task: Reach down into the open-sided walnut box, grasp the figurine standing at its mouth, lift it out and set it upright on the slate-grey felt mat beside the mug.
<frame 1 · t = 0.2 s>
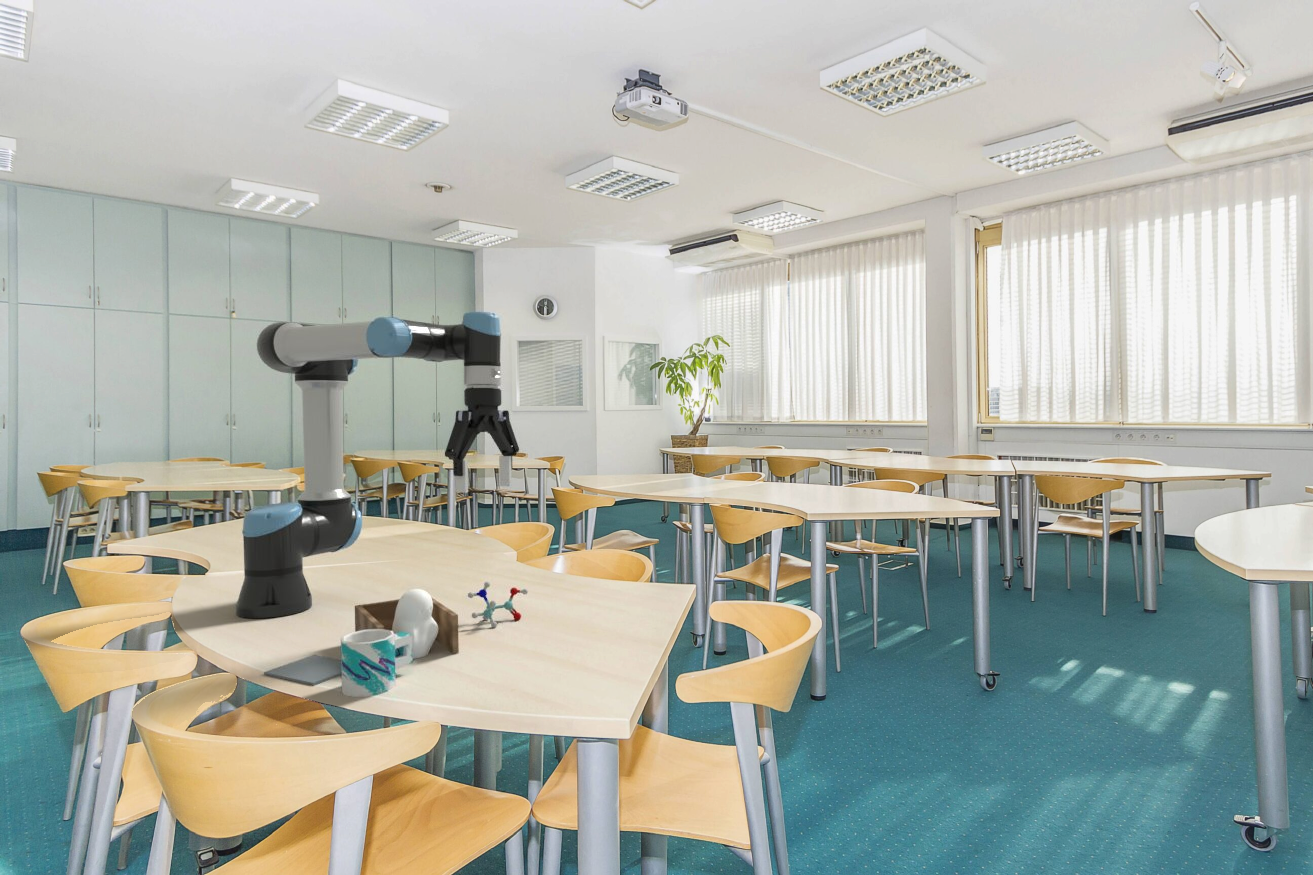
hand: (484, 489, 156), 28 cm above the table, fingers open, 13 cm apart
molecular model: (494, 622, 156), on the table
mug: (379, 684, 121), on the table
felt mat: (314, 670, 127), on the table
figurine: (413, 655, 135), on the table
walnut box: (405, 647, 139), on the table
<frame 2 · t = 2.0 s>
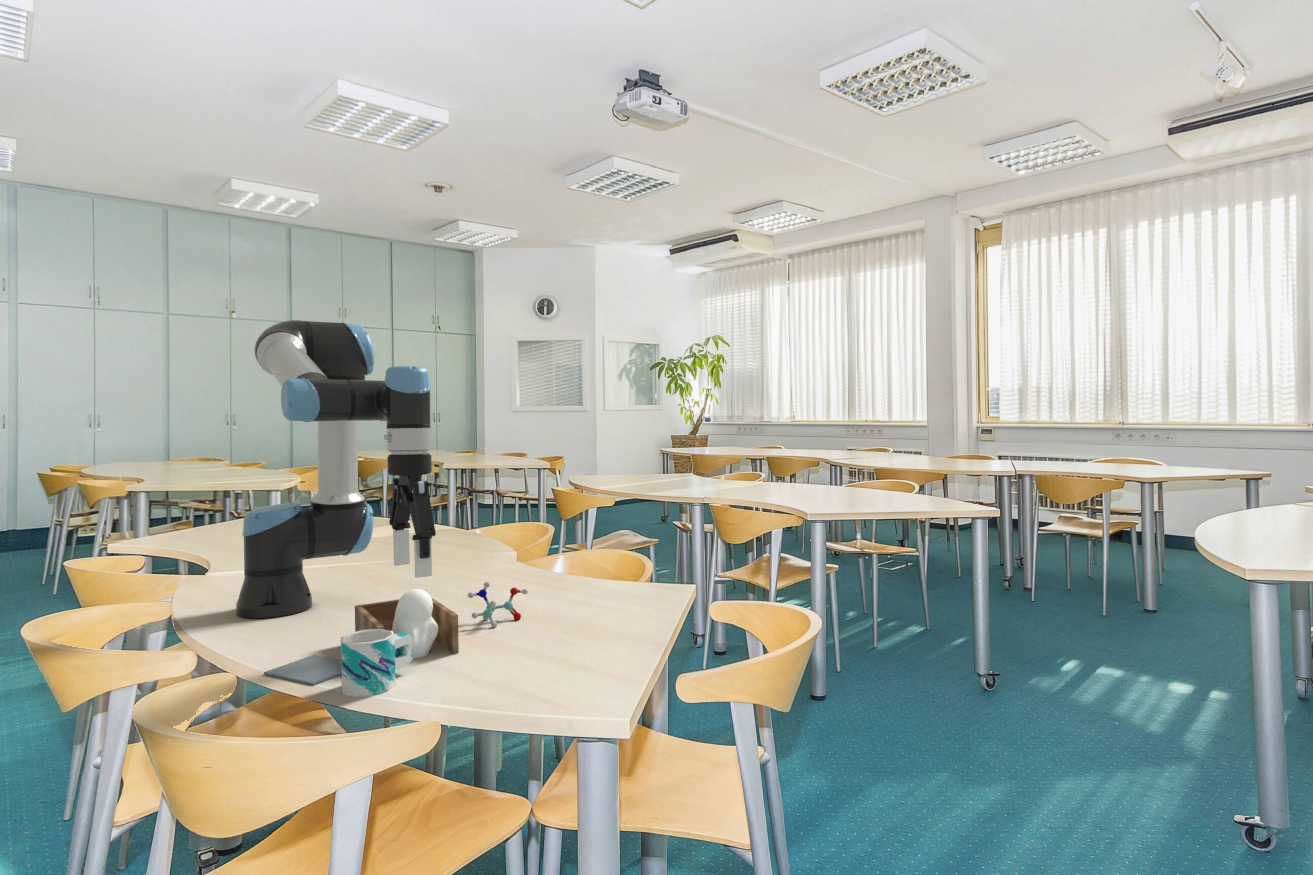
hand: (412, 570, 134), 15 cm above the table, fingers open, 13 cm apart
nothing on the table moved.
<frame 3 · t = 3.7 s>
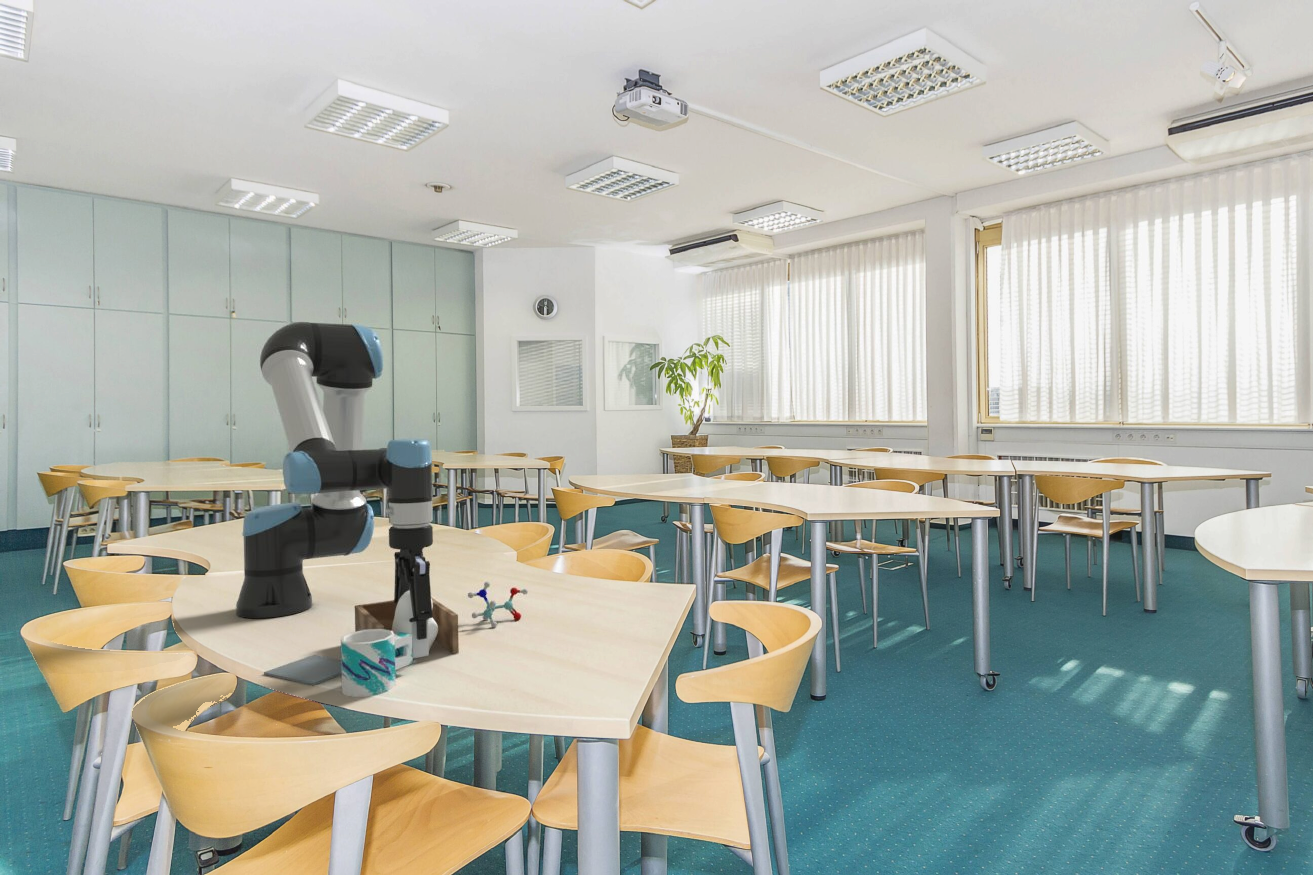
hand: (413, 649, 135), 1 cm above the table, fingers closed on figurine, 8 cm apart
figurine: (413, 655, 135), on the table, touching gripper
everything else where it was.
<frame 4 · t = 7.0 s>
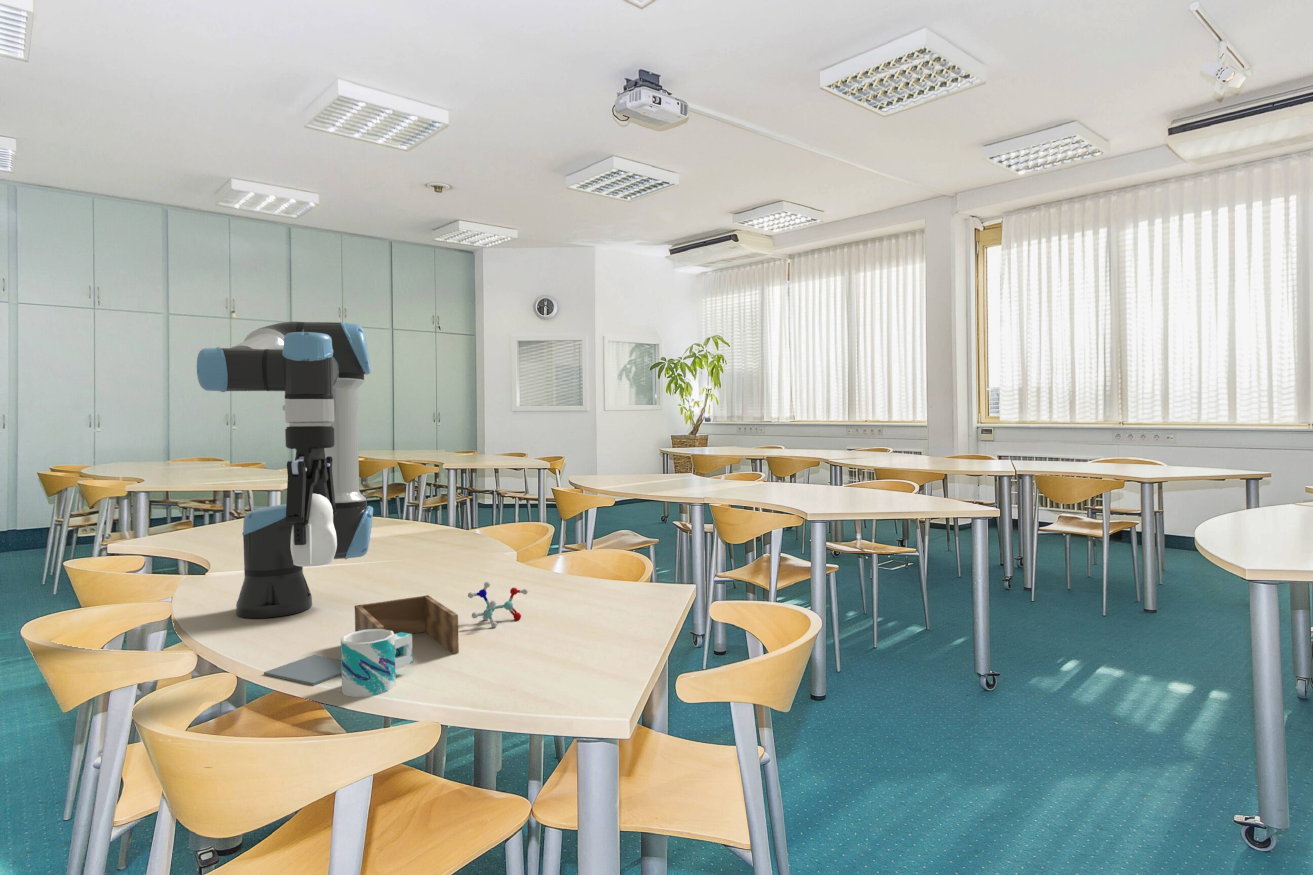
hand: (313, 558, 126), 19 cm above the table, fingers closed on figurine, 8 cm apart
figurine: (314, 564, 127), point 18 cm above the table, touching gripper
everything else where it was.
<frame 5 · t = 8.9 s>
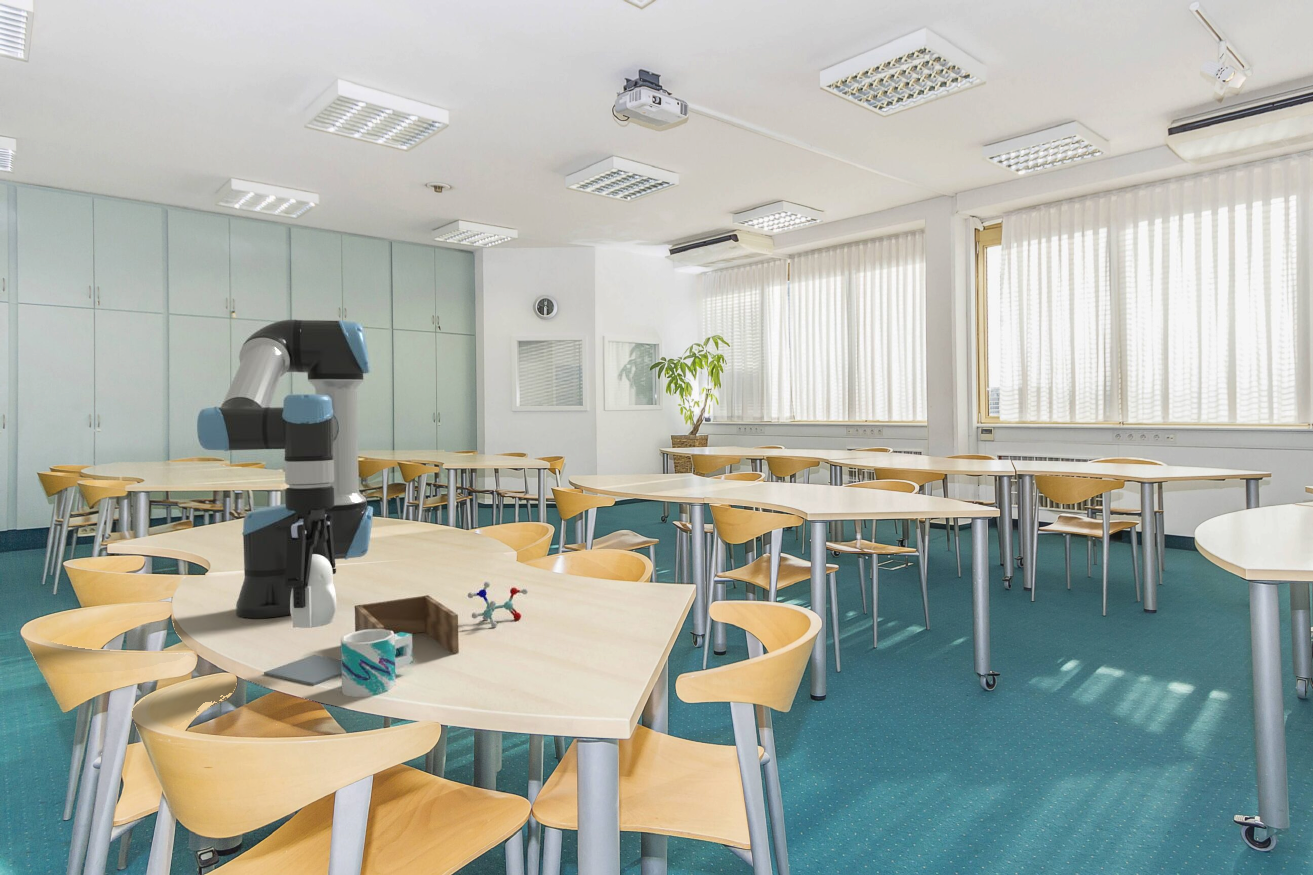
hand: (312, 618, 126), 9 cm above the table, fingers closed on figurine, 8 cm apart
figurine: (313, 624, 127), point 8 cm above the table, touching gripper
everything else where it was.
when the fingers open (2 cm above the table, at t = 10.6 s): figurine stays where it is, resting on felt mat.
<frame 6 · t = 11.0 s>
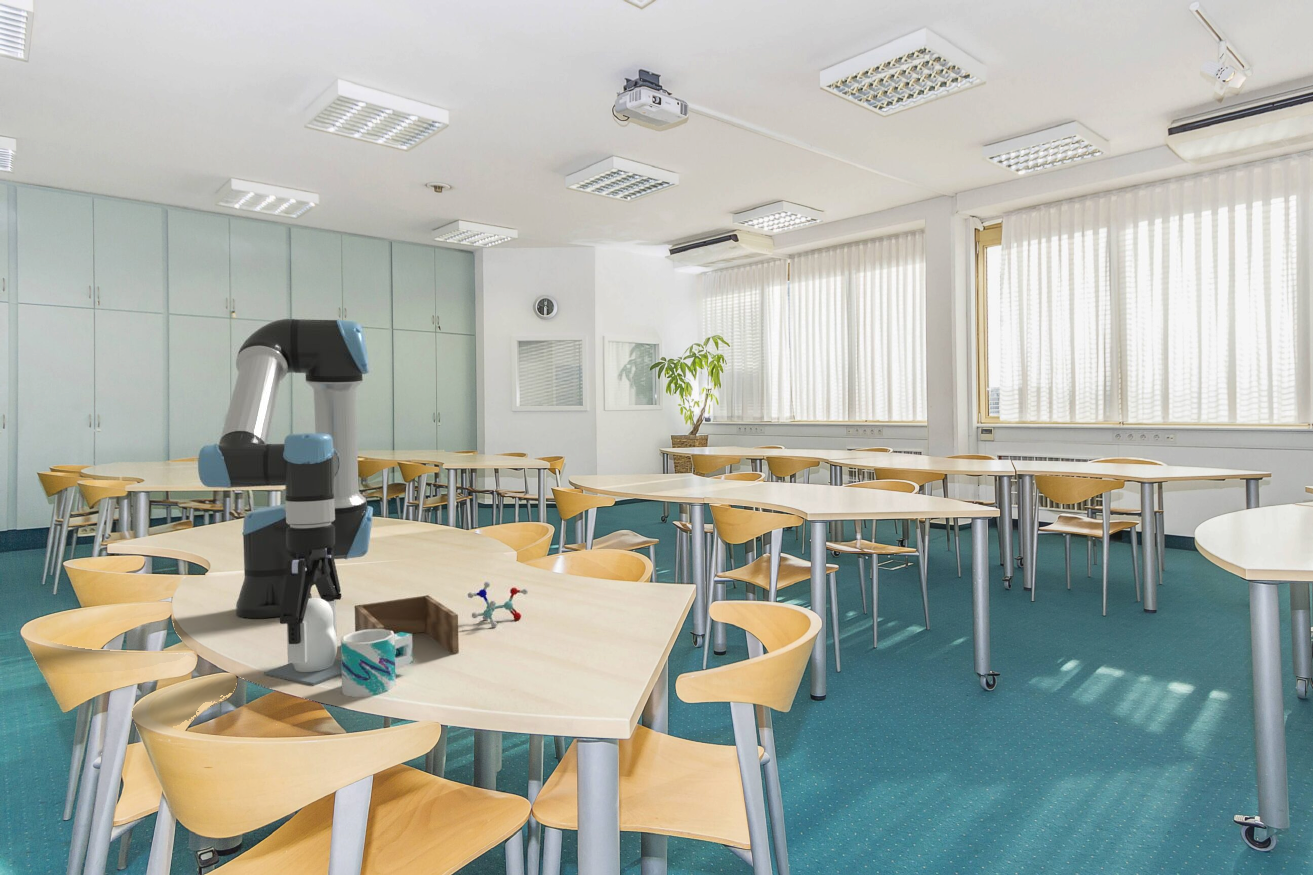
hand: (313, 649, 127), 4 cm above the table, fingers open, 13 cm apart
figurine: (314, 668, 127), resting on felt mat
everything else where it was.
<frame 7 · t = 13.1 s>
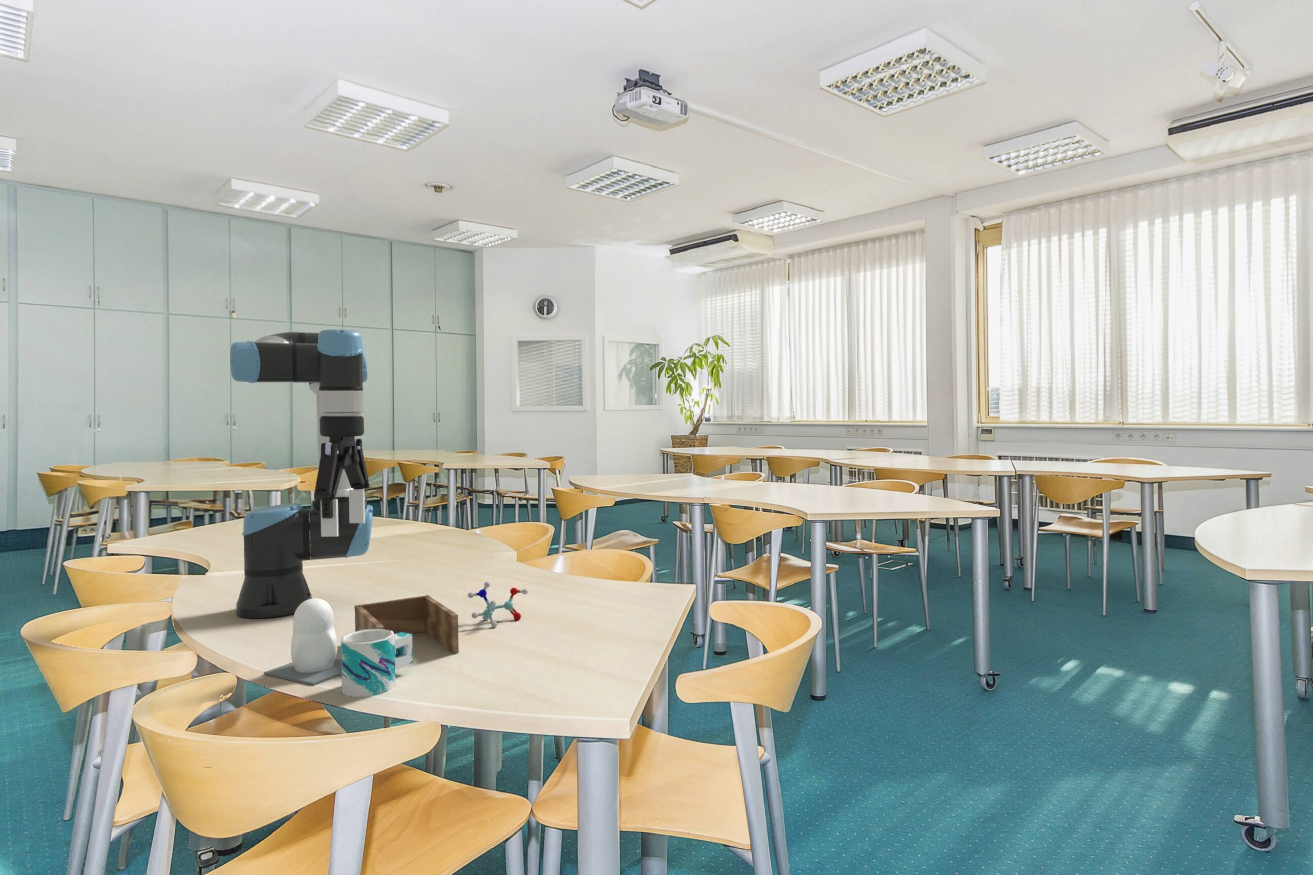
hand: (344, 529, 138), 22 cm above the table, fingers open, 13 cm apart
nothing on the table moved.
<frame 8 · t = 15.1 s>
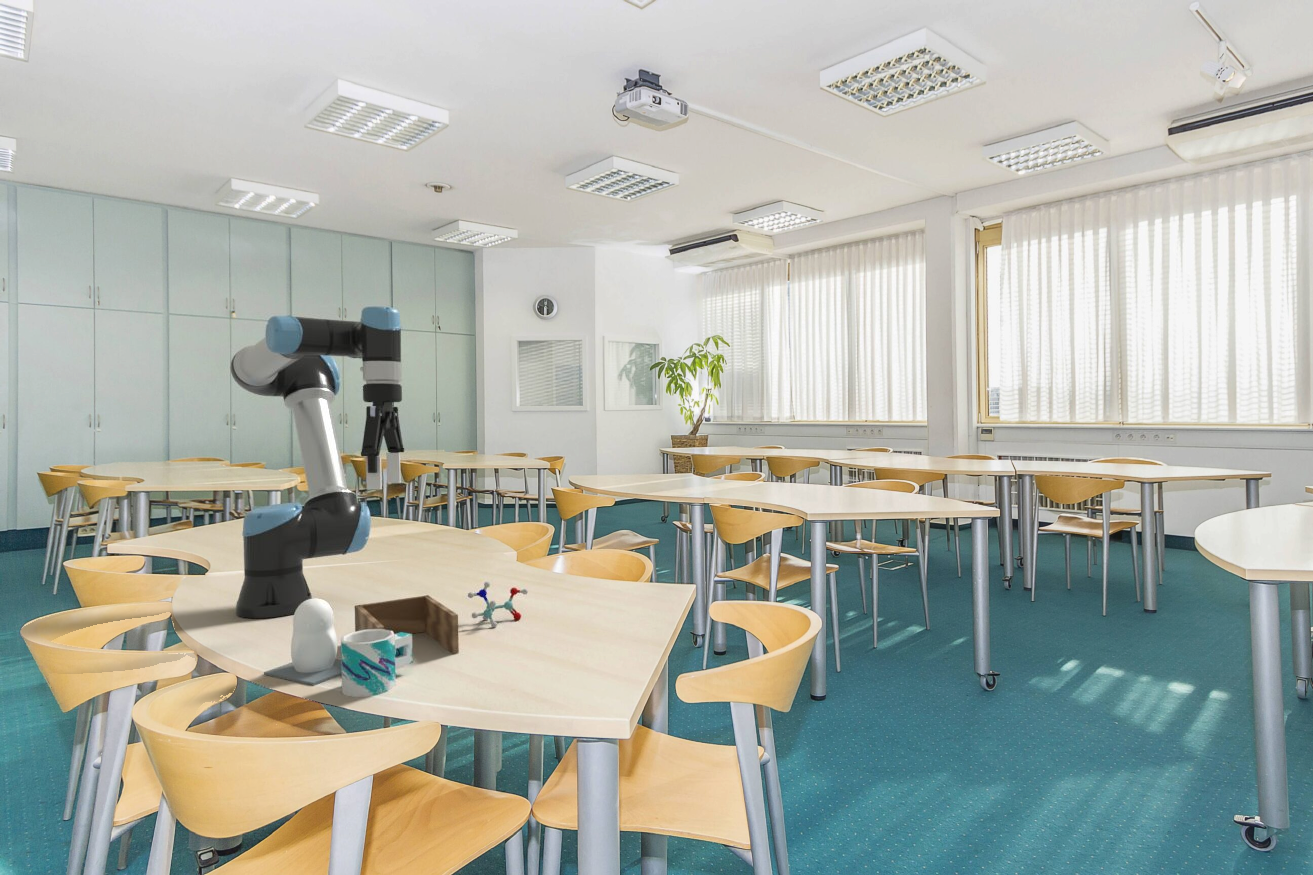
hand: (384, 486, 154), 29 cm above the table, fingers open, 13 cm apart
nothing on the table moved.
at the end: figurine inside the target area on the felt mat (0.2 cm from its centre), point 0.2 cm above the felt mat's base; figurine tilted 0°; the gripper is holding nothing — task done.
